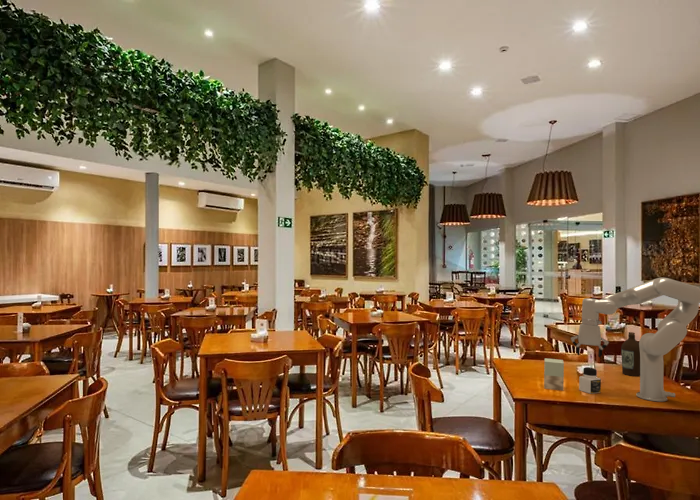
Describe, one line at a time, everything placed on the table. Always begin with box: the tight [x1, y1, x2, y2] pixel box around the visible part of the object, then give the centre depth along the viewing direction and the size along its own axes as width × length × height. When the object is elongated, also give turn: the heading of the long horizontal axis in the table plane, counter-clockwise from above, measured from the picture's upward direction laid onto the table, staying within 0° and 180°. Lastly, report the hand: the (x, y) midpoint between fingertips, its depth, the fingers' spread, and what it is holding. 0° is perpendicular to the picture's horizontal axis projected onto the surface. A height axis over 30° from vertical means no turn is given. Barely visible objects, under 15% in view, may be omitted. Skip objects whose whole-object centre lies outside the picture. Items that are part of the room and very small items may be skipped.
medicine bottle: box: [578, 366, 602, 395], centre depth 231 cm, size 7×7×12 cm
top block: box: [543, 358, 565, 378], centre depth 238 cm, size 9×9×7 cm
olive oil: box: [620, 331, 640, 377], centre depth 269 cm, size 11×11×25 cm
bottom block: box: [543, 372, 565, 392], centre depth 237 cm, size 9×9×7 cm
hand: (588, 355), depth 231 cm, fingers open, 9 cm apart
